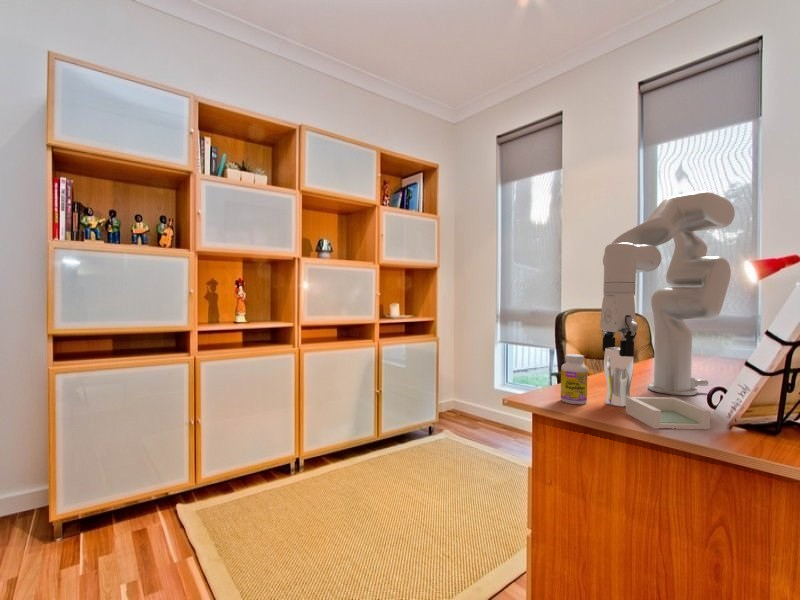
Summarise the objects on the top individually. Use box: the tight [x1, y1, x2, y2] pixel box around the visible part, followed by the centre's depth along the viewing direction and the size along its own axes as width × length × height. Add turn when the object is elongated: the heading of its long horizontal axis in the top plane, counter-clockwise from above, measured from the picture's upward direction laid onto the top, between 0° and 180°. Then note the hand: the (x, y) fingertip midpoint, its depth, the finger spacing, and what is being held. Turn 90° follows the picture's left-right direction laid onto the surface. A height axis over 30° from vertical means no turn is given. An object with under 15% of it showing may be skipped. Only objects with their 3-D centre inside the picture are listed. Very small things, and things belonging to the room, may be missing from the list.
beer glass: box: [603, 346, 635, 408], centre depth 111 cm, size 7×7×15 cm
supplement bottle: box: [560, 353, 588, 405], centre depth 113 cm, size 7×7×13 cm
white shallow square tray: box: [625, 396, 711, 430], centre depth 97 cm, size 12×12×4 cm
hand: (617, 353), depth 110 cm, fingers open, 9 cm apart
